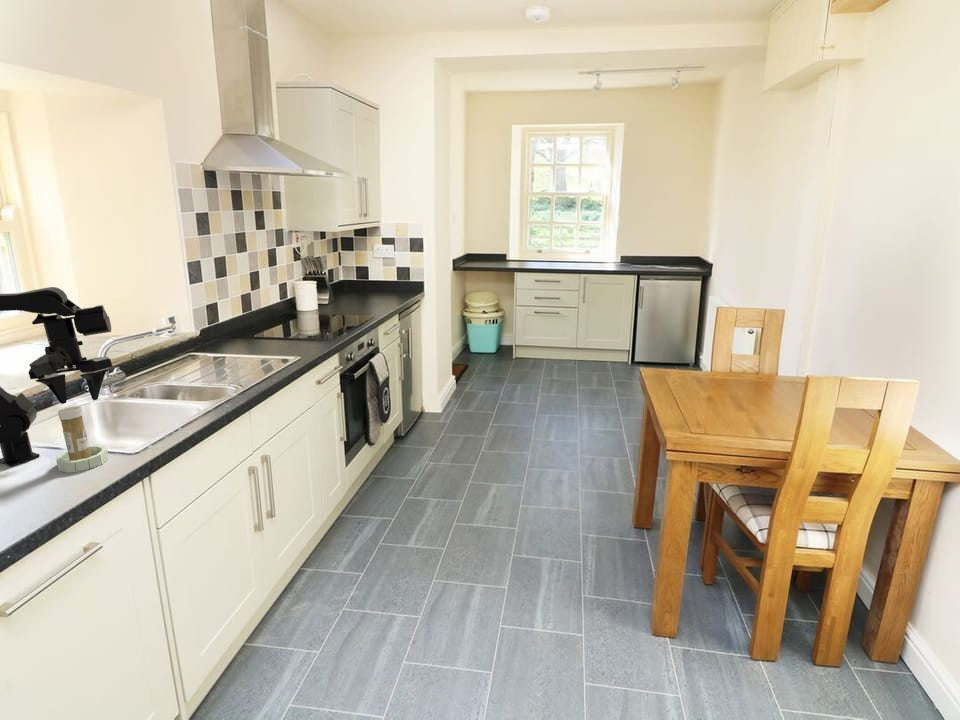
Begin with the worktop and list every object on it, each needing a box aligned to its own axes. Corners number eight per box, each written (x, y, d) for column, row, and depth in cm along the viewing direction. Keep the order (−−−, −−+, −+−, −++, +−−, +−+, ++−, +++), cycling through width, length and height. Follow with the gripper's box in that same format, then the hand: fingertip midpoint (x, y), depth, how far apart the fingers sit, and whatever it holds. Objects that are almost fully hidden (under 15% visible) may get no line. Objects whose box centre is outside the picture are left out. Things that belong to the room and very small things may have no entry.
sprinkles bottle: (93, 462, 138) (81, 409, 135) (70, 467, 136) (57, 413, 132) (92, 455, 142) (80, 404, 139) (69, 460, 140) (57, 408, 136)
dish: (50, 467, 137) (47, 457, 137) (93, 451, 146) (91, 442, 145) (73, 475, 133) (71, 465, 132) (117, 458, 141) (115, 449, 141)
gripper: (-2, 350, 134) (17, 414, 136) (66, 340, 130) (84, 407, 133) (42, 342, 145) (58, 402, 147) (105, 333, 141) (121, 394, 144)
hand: (79, 401), depth 142 cm, fingers open, 9 cm apart
